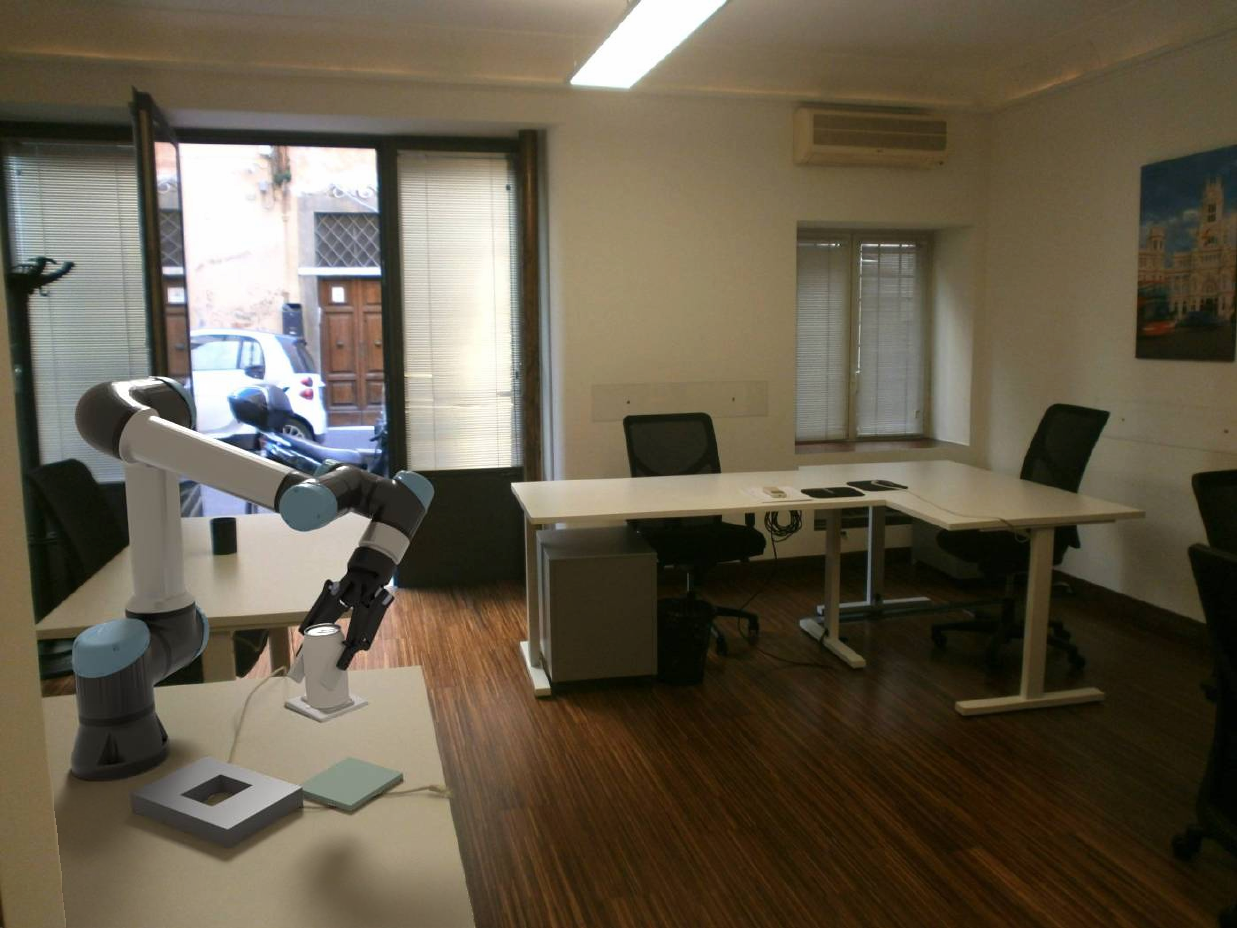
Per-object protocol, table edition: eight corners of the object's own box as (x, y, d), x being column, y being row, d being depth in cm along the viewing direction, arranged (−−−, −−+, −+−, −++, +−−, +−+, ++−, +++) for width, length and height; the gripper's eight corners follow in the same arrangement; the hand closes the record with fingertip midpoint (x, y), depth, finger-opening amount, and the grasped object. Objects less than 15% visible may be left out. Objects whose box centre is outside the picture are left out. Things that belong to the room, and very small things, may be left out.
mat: (294, 793, 155) (294, 787, 155) (349, 762, 165) (348, 756, 165) (350, 811, 149) (350, 805, 149) (403, 778, 159) (402, 772, 159)
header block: (131, 810, 149) (130, 792, 149) (208, 772, 162) (207, 755, 161) (229, 848, 139) (227, 829, 138) (303, 804, 151) (302, 786, 151)
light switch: (322, 708, 180) (283, 688, 188) (322, 729, 181) (283, 708, 189) (370, 690, 189) (330, 671, 196) (370, 710, 189) (331, 690, 197)
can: (307, 696, 155) (301, 625, 153) (349, 691, 157) (344, 620, 155) (306, 712, 149) (300, 638, 147) (349, 707, 151) (344, 633, 149)
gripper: (433, 574, 158) (369, 704, 147) (348, 561, 168) (281, 682, 157) (409, 550, 153) (340, 684, 142) (322, 538, 163) (251, 662, 151)
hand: (309, 683), depth 149 cm, fingers closed on can, 6 cm apart
